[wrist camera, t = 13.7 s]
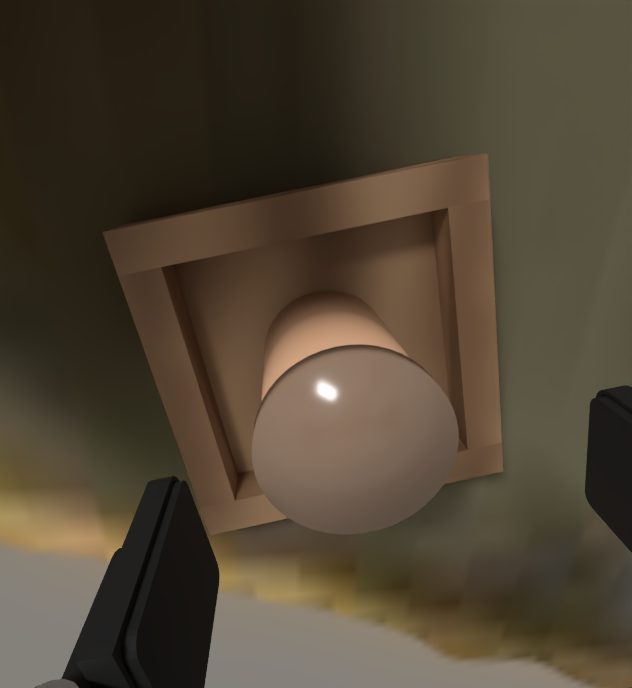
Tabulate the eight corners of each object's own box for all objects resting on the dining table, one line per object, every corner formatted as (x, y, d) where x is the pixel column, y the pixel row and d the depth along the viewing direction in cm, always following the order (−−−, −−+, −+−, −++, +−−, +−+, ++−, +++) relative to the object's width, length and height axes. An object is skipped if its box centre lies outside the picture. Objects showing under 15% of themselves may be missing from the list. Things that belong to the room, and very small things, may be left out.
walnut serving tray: (460, 155, 19) (487, 153, 16) (479, 441, 24) (503, 471, 21) (124, 224, 19) (102, 232, 16) (216, 498, 24) (209, 535, 21)
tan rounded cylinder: (382, 273, 20) (450, 334, 12) (399, 395, 22) (465, 511, 14) (245, 301, 19) (227, 380, 12) (276, 421, 22) (277, 552, 14)
